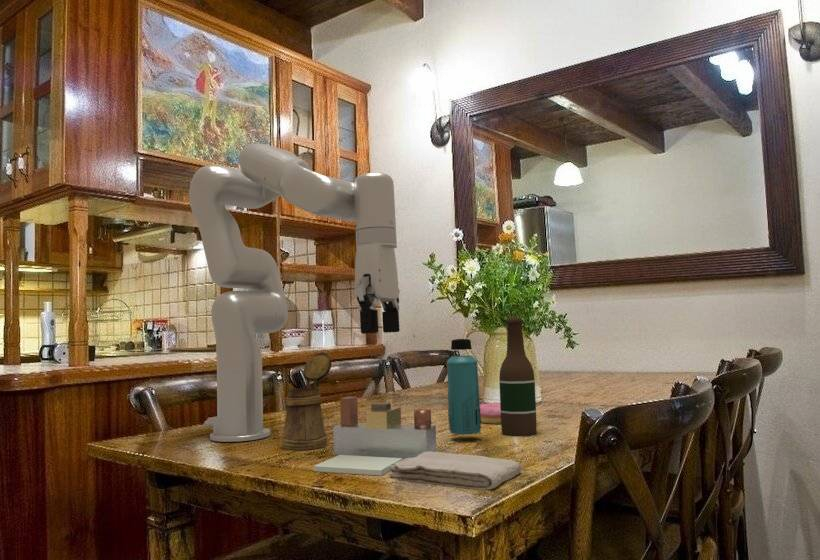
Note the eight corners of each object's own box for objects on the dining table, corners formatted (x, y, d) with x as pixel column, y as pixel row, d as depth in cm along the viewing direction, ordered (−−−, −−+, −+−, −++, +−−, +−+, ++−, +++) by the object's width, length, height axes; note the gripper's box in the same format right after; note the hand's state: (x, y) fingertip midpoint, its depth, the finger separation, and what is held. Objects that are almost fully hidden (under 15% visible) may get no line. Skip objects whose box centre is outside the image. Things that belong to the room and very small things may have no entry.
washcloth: (423, 465, 106) (422, 446, 106) (524, 475, 97) (523, 455, 97) (384, 481, 96) (383, 460, 96) (493, 494, 87) (492, 472, 87)
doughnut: (530, 423, 144) (529, 405, 144) (484, 426, 141) (483, 408, 142) (511, 417, 154) (510, 399, 155) (468, 420, 152) (468, 402, 152)
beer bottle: (543, 431, 132) (538, 316, 134) (529, 437, 126) (524, 317, 127) (509, 429, 136) (504, 317, 138) (494, 435, 130) (489, 318, 131)
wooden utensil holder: (344, 438, 131) (342, 351, 132) (314, 451, 118) (312, 355, 120) (306, 437, 134) (304, 352, 135) (272, 449, 121) (271, 355, 122)
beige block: (366, 428, 112) (365, 405, 112) (381, 422, 118) (380, 401, 118) (386, 429, 110) (386, 406, 111) (401, 423, 116) (400, 401, 117)
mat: (313, 471, 102) (313, 466, 102) (339, 459, 110) (339, 454, 110) (380, 475, 98) (380, 470, 98) (402, 463, 106) (402, 458, 106)
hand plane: (333, 454, 115) (332, 399, 115) (346, 449, 119) (345, 395, 120) (426, 459, 108) (425, 400, 109) (436, 453, 113) (434, 397, 113)
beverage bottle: (480, 442, 122) (476, 338, 123) (446, 442, 123) (442, 339, 125) (483, 436, 128) (479, 337, 130) (450, 436, 130) (447, 338, 131)
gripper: (377, 247, 127) (381, 332, 125) (336, 236, 111) (340, 334, 109) (411, 243, 124) (416, 331, 122) (375, 232, 108) (380, 332, 106)
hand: (380, 332), depth 116 cm, fingers open, 9 cm apart
